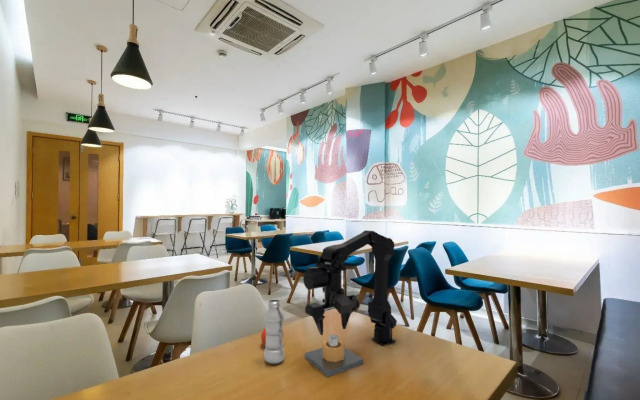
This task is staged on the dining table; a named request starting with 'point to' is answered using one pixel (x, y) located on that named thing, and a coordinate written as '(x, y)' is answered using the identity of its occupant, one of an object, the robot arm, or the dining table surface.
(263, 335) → the apple
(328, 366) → the piston stand
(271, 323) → the plastic bottle
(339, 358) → the collar
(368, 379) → the dining table surface
